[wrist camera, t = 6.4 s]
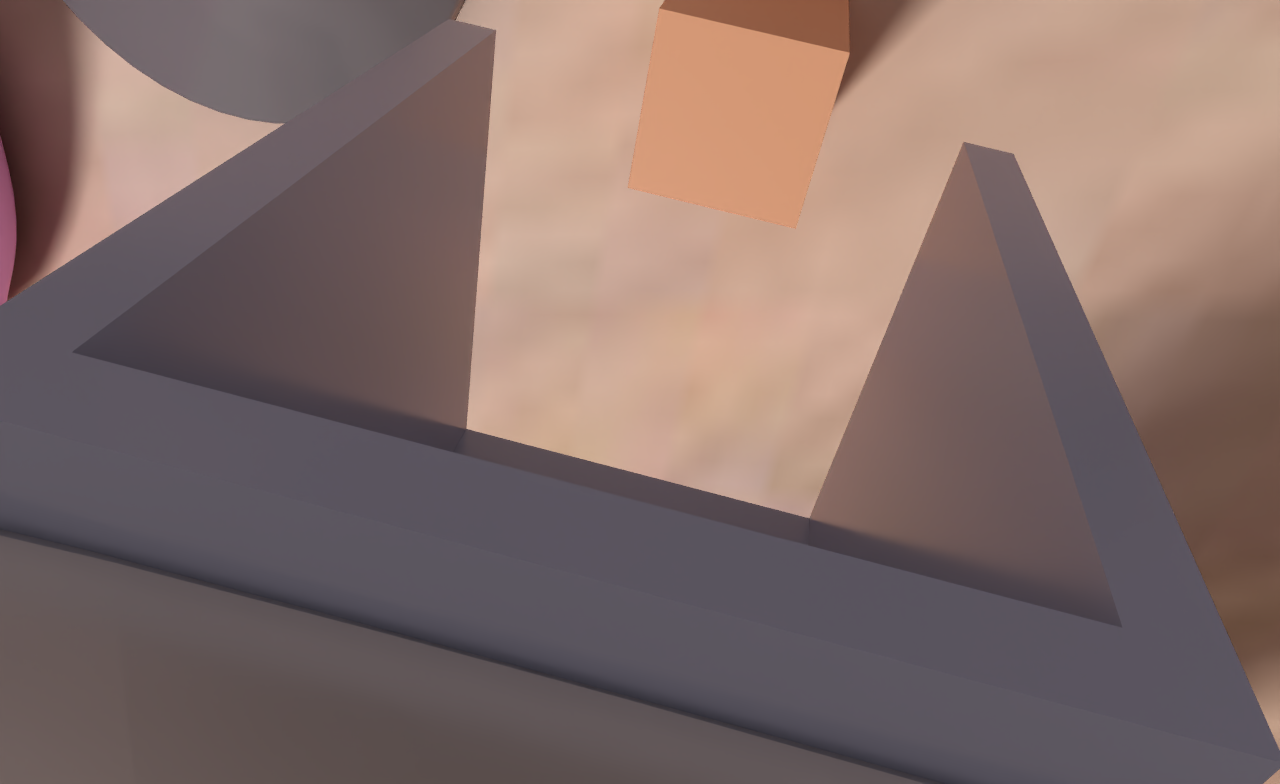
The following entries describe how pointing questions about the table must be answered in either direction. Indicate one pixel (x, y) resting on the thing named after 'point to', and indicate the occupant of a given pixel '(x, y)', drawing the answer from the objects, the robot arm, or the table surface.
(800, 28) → the terracotta block
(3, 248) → the teapot
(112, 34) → the charcoal dish
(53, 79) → the table surface
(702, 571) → the grey angular piece
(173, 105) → the table surface
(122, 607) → the robot arm
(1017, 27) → the table surface
